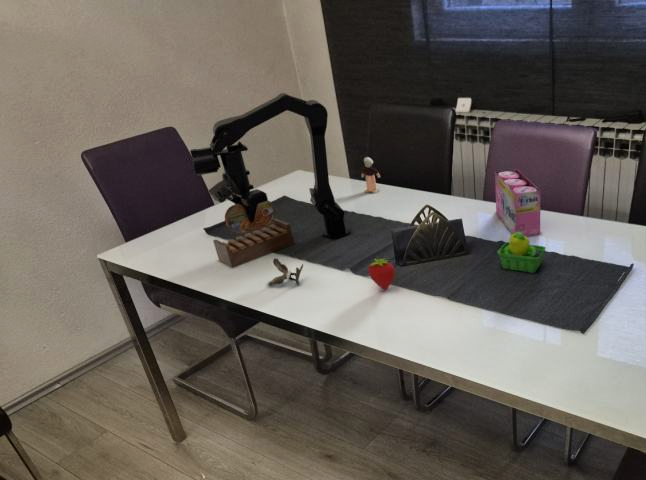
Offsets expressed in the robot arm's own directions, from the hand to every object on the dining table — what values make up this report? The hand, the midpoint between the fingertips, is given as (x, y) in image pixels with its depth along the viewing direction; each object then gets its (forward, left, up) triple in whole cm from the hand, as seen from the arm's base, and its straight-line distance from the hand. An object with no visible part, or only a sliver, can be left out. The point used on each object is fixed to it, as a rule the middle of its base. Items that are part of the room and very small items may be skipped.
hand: (249, 221), depth 176 cm
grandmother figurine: (+14, -56, -10) cm, 58 cm away
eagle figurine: (-26, +6, -10) cm, 29 cm away
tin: (0, 0, -3) cm, 3 cm away
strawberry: (-51, -8, -10) cm, 53 cm away
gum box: (-50, -63, -10) cm, 81 cm away
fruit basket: (-71, -39, -10) cm, 82 cm away
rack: (0, 0, -10) cm, 10 cm away
